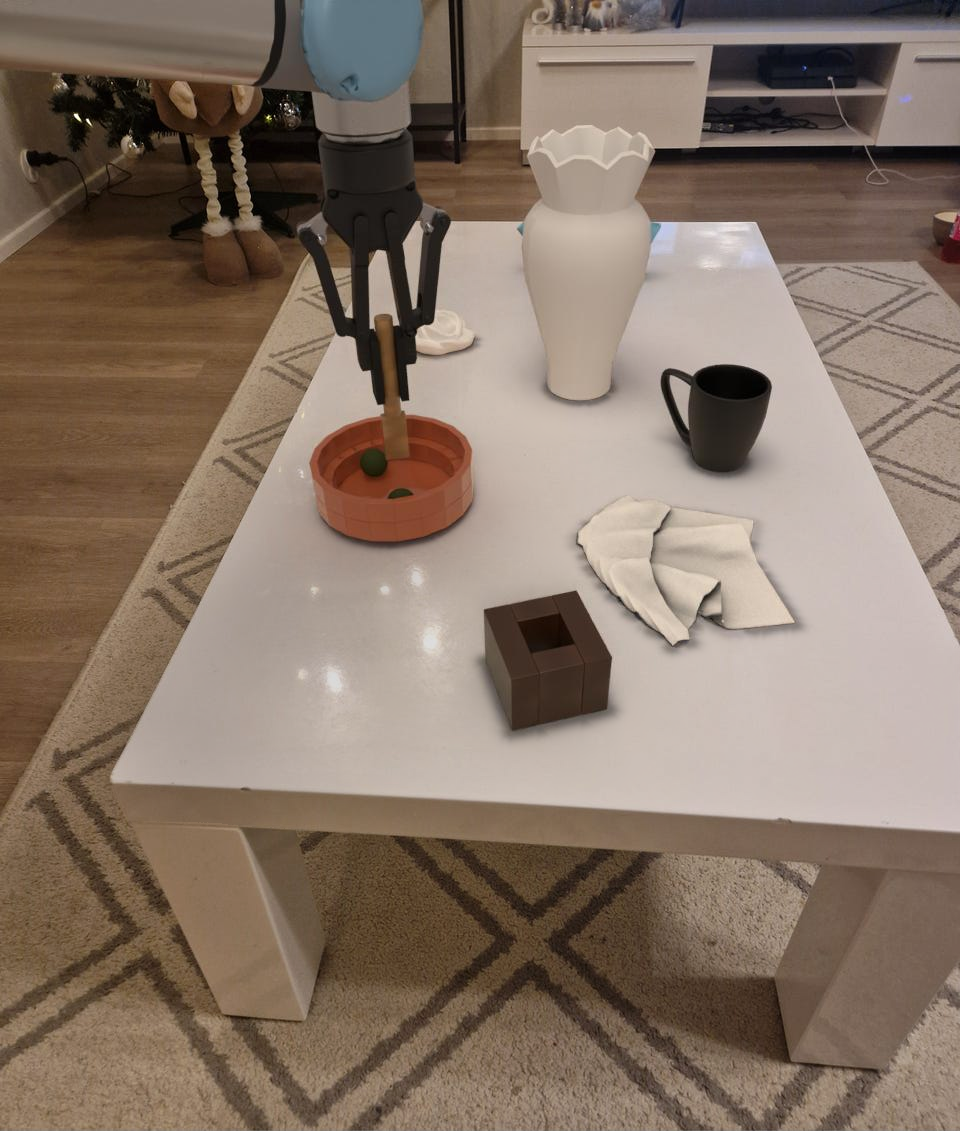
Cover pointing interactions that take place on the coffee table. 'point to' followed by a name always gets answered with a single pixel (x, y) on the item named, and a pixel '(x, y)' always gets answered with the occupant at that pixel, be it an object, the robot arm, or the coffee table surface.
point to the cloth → (680, 567)
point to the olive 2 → (400, 493)
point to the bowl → (393, 480)
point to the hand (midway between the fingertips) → (391, 395)
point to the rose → (443, 334)
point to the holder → (546, 659)
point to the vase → (585, 251)
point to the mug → (720, 413)
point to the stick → (391, 392)
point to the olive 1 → (373, 462)
